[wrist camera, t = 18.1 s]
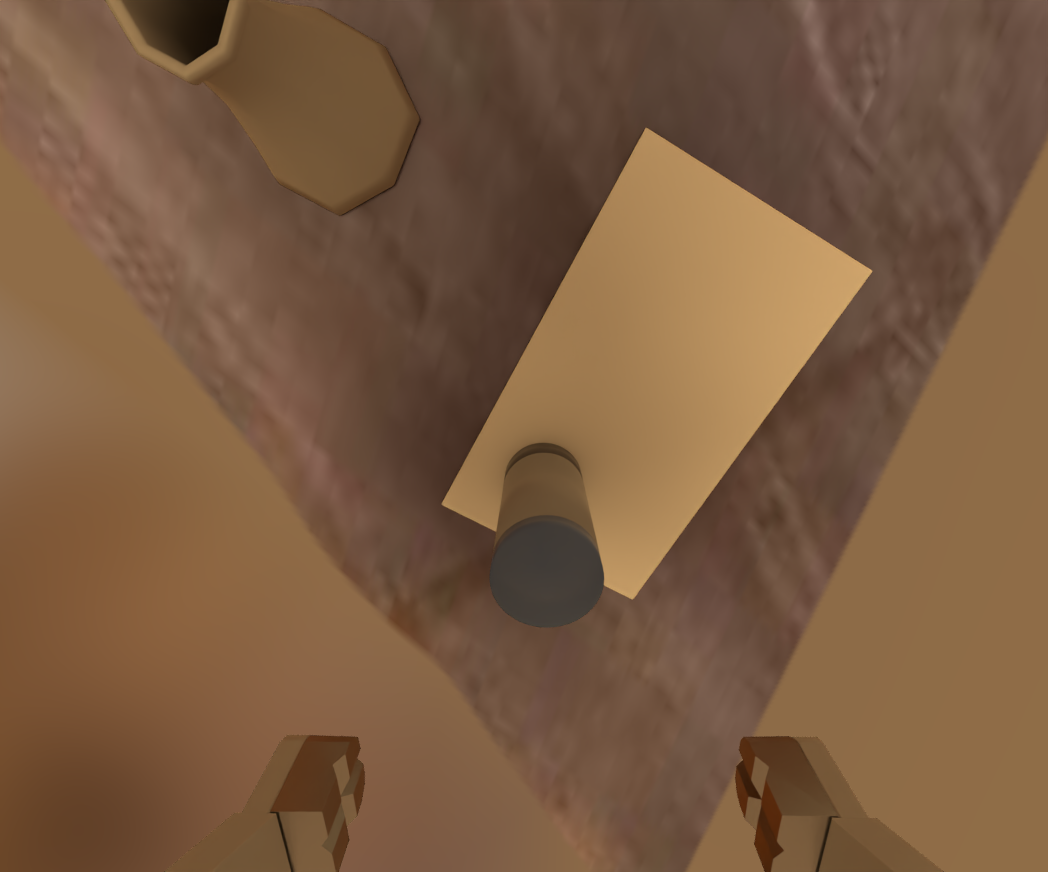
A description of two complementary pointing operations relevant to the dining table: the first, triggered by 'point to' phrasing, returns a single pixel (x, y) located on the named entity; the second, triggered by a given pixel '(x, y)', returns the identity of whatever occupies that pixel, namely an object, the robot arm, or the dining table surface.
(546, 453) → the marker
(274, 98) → the flask
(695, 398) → the paper
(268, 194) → the dining table surface
